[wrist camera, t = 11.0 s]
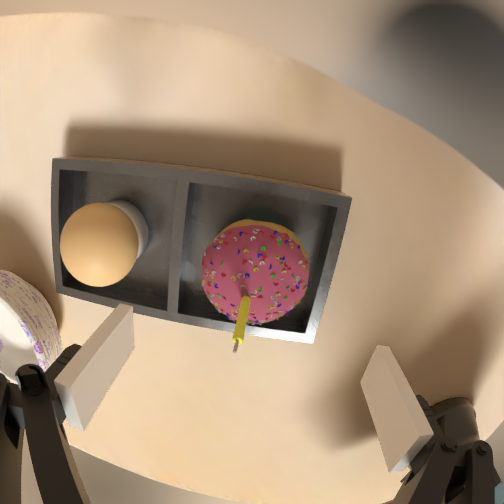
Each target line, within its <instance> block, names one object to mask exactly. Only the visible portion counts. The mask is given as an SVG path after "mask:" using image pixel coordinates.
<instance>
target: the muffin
mask: <svg viewBox="0 0 504 504" xmlns="http://www.w3.org/2000/svg"><path fill="white" fill-rule="evenodd" d="M147 243H148V226H147V223H146V220H145V218H144V216H143V214H142V213H141V212H140V210H139V209H138V208H137V207H136V206H134V205H133V204H131V203H130V202H128V201H125V200H119V199H115V200H110V201H107V202H105V203H92V204H88V205H85V206H83V207H81V208H80V209H78V210H77V211H75V212H74V213H73V214H72V215H71V216H70V218H69V219H68V220H67V222H66V223H65V225H64V228H63V230H62V233H61V238H60V252H61V257H62V260H63V262H64V265H65V266H66V268H67V270H68V271H69V272H70V273H71V275H72V276H74V277H75V278H76V279H77V280H79V281H80V282H82V283H84V284H87V285H90V286H96V287H103V286H108V285H112V284H114V283H116V282H118V281H120V280H121V279H122V278H124V277H125V276H126V275H127V274H128V273H129V271H130V270H131V269H132V267H133V265H134V263H135V261H136V259H137V258H138V257H139V256H140V255H141V254H142V253H143V252H144V250H145V248H146V246H147Z"/></svg>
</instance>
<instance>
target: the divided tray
mask: <svg viewBox="0 0 504 504" xmlns="http://www.w3.org/2000/svg"><path fill="white" fill-rule="evenodd" d="M115 199H119V200H125V201H128V202H130V203H131V204H133V205H134V206H136V207H137V208H138V209H139V210H140V212H141V213H142V214H143V216H144V218H145V220H146V223H147V226H148V243H147V246H146V248H145V250H144V252H143V253H142V254H141V255H140V256H139V257H138V258H137V259H136V261H135V263H134V265H133V267H132V269H131V270H130V271H129V273H128V274H127V275H126V276H125V277H124V278H122V279H121V280H120V281H118V282H116V283H114V284H112V285H108V286H103V287H96V286H90V285H87V284H84V283H82V282H80V281H79V280H77V279H76V278H75V277H74V276H72V275H71V273H70V272H69V271H68V270H67V268H66V266H65V265H64V262H63V260H62V257H61V252H60V238H61V233H62V230H63V228H64V225H65V223H66V222H67V220H68V219H69V218H70V216H71V215H72V214H73V213H74V212H75V211H77V210H78V209H80V208H81V207H83V206H85V205H88V204H92V203H105V202H107V201H110V200H115ZM351 200H352V198H351V197H350V196H348V195H346V194H345V193H343V192H340V191H336V190H331V189H326V188H321V187H316V186H311V185H306V184H301V183H296V182H291V181H285V180H280V179H274V178H268V177H262V176H256V175H250V174H244V173H237V172H231V171H224V170H217V169H210V168H202V167H194V166H186V165H178V164H169V163H159V162H149V161H139V160H127V159H114V158H100V157H82V156H68V157H60V158H53V160H52V180H51V228H52V248H53V261H54V272H55V282H56V290H57V293H61V294H64V295H68V296H71V297H75V298H78V299H82V300H86V301H89V302H93V303H97V304H101V305H105V306H108V307H112V308H116V307H117V306H118V305H119V304H120V303H121V304H125V305H129V306H133V313H137V314H142V315H146V316H151V317H155V318H160V319H165V320H169V321H174V322H179V323H184V324H189V325H195V326H200V327H205V328H211V329H216V330H222V331H228V332H234V330H235V326H236V320H235V322H234V321H233V320H234V319H233V320H230V319H229V318H228V316H226V315H225V314H223V313H222V312H221V313H220V312H219V311H218V309H217V310H216V308H215V306H214V305H213V304H212V303H211V302H210V300H209V299H208V298H207V295H206V293H205V291H204V289H203V286H202V285H201V283H202V257H203V254H204V251H205V249H206V248H207V246H208V245H209V244H210V243H211V242H212V241H213V239H214V238H215V237H216V236H217V235H218V234H219V233H220V232H221V231H223V230H224V229H225V228H226V227H227V226H229V225H231V224H233V223H235V222H237V221H241V220H245V219H251V220H254V221H263V222H271V223H275V224H278V225H281V226H284V227H285V228H287V229H289V230H290V231H292V232H293V233H294V234H295V235H296V236H297V238H298V239H299V241H300V242H301V244H302V246H303V248H304V250H305V252H306V254H307V258H308V265H309V277H308V282H309V286H307V290H306V292H305V294H304V296H303V297H302V299H301V300H300V301H301V302H300V303H299V304H296V305H295V307H294V308H293V309H292V310H291V312H290V313H289V314H288V312H287V314H288V315H285V314H284V315H283V316H282V317H281V316H280V318H279V319H278V320H276V319H275V320H272V321H269V322H267V323H262V325H259V324H256V323H255V325H251V323H249V325H247V324H246V325H247V326H246V328H245V333H244V334H247V335H253V336H260V337H267V338H274V339H282V340H290V341H298V342H306V343H313V341H314V337H315V334H316V331H317V328H318V325H319V322H320V318H321V315H322V312H323V308H324V305H325V302H326V298H327V295H328V291H329V288H330V284H331V281H332V277H333V273H334V270H335V266H336V262H337V259H338V255H339V251H340V247H341V243H342V239H343V235H344V231H345V227H346V222H347V218H348V214H349V209H350V205H351ZM260 324H261V323H260Z"/></svg>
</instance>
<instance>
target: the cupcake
mask: <svg viewBox="0 0 504 504" xmlns="http://www.w3.org/2000/svg"><path fill="white" fill-rule="evenodd" d="M308 277H309V265H308V258H307V254H306V252H305V250H304V248H303V246H302V244H301V242H300V241H299V239H298V238H297V236H296V235H295V234H294V233H293V232H292V231H290V230H289V229H287V228H285V227H284V226H281V225H278V224H275V223H271V222H263V221H254V220H251V219H245V220H241V221H237V222H235V223H233V224H231V225H229V226H227V227H226V228H225V229H224V230H223V231H221V232H220V233H219V234H218V235H217V236H216V237H215V238H214V239H213V241H212V242H211V243H210V244H209V245H208V246H207V248H206V249H205V251H204V254H203V257H202V283H201V285H202V286H203V289H204V291H205V293H206V295H207V298H208V299H209V300H210V302H211V303H212V304H213V305H214V306H215V308H216V310H217V309H218V311H219V312H220V313H221V312H222V313H223V314H225V315H226V316H228V318H229V319H230V320H233V319H234V320H233V321H234V322H235V320H236V326H235V330H234V335H233V339H232V341H233V343H235V346H234V350H233V352H234V353H236V351H237V348H238V345H239V344H242V342H243V338H244V333H245V328H246V326H247V325H249V323H251V325H255V323H256V324H259V325H262V323H267V322H269V321H272V320H275V319H276V320H278V319H279V318H280V316H281V317H282V316H283V315H284V314H285V315H288V314H289V313H290V312H291V310H292V309H293V308H294V307H295V305H296V304H299V303H300V302H301V301H300V300H301V299H302V297H303V296H304V294H305V292H306V290H307V286H309V282H308ZM287 312H288V314H287ZM260 323H261V324H260ZM246 324H247V325H246Z"/></svg>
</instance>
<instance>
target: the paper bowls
mask: <svg viewBox="0 0 504 504" xmlns="http://www.w3.org/2000/svg"><path fill="white" fill-rule="evenodd" d="M61 353H62V341H61V336H60V334H59V331H58V328H57V323H56V319H55V316H54V313H53V311H52V309H51V307H50V305H49V304H48V302H47V300H46V299H45V298H44V296H43V295H42V294H41V293H40V292H39V291H38V290H37V289H36V288H35V287H34V286H32V285H31V284H29V283H27V282H25V281H24V280H23V279H22V278H20V277H19V276H17V275H15V274H14V273H12V272H9V271H6V270H0V373H2V374H4V375H5V376H6V378H7V379H8V380H10V381H11V382H13V383H15V384H18V383H17V380H16V378H15V373H16V371H17V369H18V368H19V367H21V366H22V365H25V364H36V365H39V366H40V367H41V368H42V369H43V371H44V372H45V371H46V370H47V369H48V368H49V367H50V366H51V364H52V363H53V362H54V361H55V360H56V359H57V358H58V356H60V354H61Z"/></svg>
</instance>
